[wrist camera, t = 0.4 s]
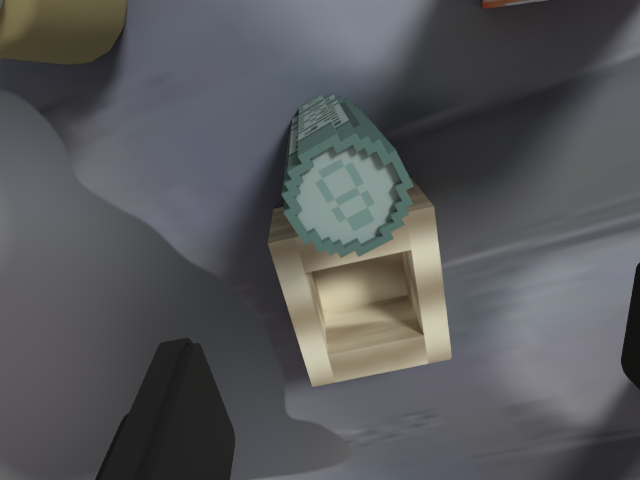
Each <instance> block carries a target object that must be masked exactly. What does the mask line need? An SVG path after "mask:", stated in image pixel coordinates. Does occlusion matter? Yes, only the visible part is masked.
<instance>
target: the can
mask: <svg viewBox="0 0 640 480" xmlns="http://www.w3.org/2000/svg"><path fill="white" fill-rule="evenodd" d="M412 187H414V185H413V183H412V181H411V179H410V177H409V175H408V173H407V171H406V169H405V167H404V165H403V163H402V161H401V159H400V157H399V155H398V153H397V151H396V149H395V148H394V147H393V146H392V145H391V144H390V142H389V141H388V140H387V139H386V138H385V137H384V135H383V134H382V133H381V132H380V131H379V130H378V129H377V127H376V126H375V125H374V124H373V123H372V122H371V120H370V119H369V118H368V117H367V116H366V115H365V113H364V112H363V111H362V110H361V109H360V108H359V106H358V105H355V106H354V105H353V104H352V103H351V102H350V100H349V99H348V98H346V99H345V100H343V99H342V97H341V96H339V97H337V98H335V96H334V94H332V95H330V96H329V97H327V98H325V99H324V98H323V96H322V95H320V96H318V97H316V98H315V99H313V100H311V101H310V102H308V103H306V104H305V105H303V106H301V107H300V108H299V115H297V116H295V117H294V118H292V125H291V128H290V132H289V137H288V146H287V154H286V162H285V171H284V179H283V187H282V196H283V198H284V199H285V200H284V211H283V213H284V214H285V216H286V217H287V219H288V220H289V222H290V223H291V225H292V227H293V228H294V230H295V231H296V233H297V234H298V236H299V237H300V239H301V240H302V242H303V243H304V245H305V244H307V243H309V242H311V241H312V243H313V244H314V246H315V247H316V249H317V250H318V252H319V253H321V252H323V251H325V250H327V252H328V253H329V255H330V256H331V255H333V254H335V253H338V254H339V256H340V258H342V257H344V256H346V255H348V254H350V253H352V252H354V251H355V252H356V254H357V255H358V257H360V256H362V255H363V254H365V253H367V252H369V251H371V250H373V249H375V248H377V247H379V246H381V245H383V244H385V243H387V242H389V241H391V240H393V239H394V238H393V236H392V234H391V232H392V231H394V230H396V229H398V228H400V227H402V226H404V225H405V224H404V222H403V220H402V218H404V217H405V216H407V215H409V214H408V212H407V210H406V208H407V207H408V206H410V205H412V204H413V203H412V201H411V199H410V197H409V195H408V193H407V191H406V190H408V189H410V188H412Z"/></svg>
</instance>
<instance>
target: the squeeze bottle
mask: <svg viewBox="0 0 640 480" xmlns="http://www.w3.org/2000/svg"><path fill="white" fill-rule="evenodd" d="M126 12H127V1H126V0H0V58H3V59H13V60H23V61H33V62H43V63H53V64H63V65H69V64H81V63H90V62H92V61H94V60H95V59H97V58H99V57H100V56H102V55H104V54H105V53H107V52H109V51H110V49H111V48H112V46H113V44H114V43H115V41H116V40H117V38H118V36H119V35H120V33H121V31H122V29H123V27H124V24H125V20H126Z"/></svg>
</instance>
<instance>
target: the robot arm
mask: <svg viewBox="0 0 640 480" xmlns="http://www.w3.org/2000/svg"><path fill="white" fill-rule="evenodd" d="M621 365H622V368H623V371H624V373H625V374H626V376H627V377H628V378H629V379H630V380H631V381H632V382H633V383H634V384H635V385H636V386H637V387H638V388H639V389H640V263H639V264H638V265H637V267H636V272H635V278H634V284H633V290H632V296H631V302H630V308H629V314H628V320H627V326H626V332H625V338H624V344H623V350H622V356H621ZM234 448H235V435H234V430H233V427H232V424H231V421H230V419H229V416H228V414H227V411H226V409H225V406H224V403H223V401H222V398H221V396H220V393H219V391H218V388H217V385H216V383H215V380H214V378H213V375H212V373H211V370H210V367H209V365H208V362H207V360H206V357H205V355H204V352H203V350H202V347H201V345H200V344H199V343H195V344H193V343H192V341H191V340H190V339H189V338H184V339H178V340H173V341H167V342H163V343H161V344H160V345H159V346H158V348H157V351H156V353H155V355H154V357H153V360H152V362H151V364H150V366H149V369H148V371H147V373H146V376H145V378H144V380H143V383H142V385H141V387H140V389H139V392H138V394H137V396H136V399H135V401H134V403H133V405H132V408H131V410H130V412H129V413H128V414H127V415H126V416H125V417H124V418H123V420H122V421H121V423H120V425H119V428H118V430H117V432H116V434H115V436H114V439H113V441H112V443H111V445H110V448H109V450H108V452H107V454H106V457H105V459H104V461H103V463H102V466H101V468H100V470H99V472H98V474H97V476H96V479H95V480H230V475H231V468H232V461H233V454H234Z"/></svg>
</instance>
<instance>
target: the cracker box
mask: <svg viewBox="0 0 640 480" xmlns="http://www.w3.org/2000/svg"><path fill="white" fill-rule="evenodd" d="M538 1H546V0H482V7H483V8H484V9H486V8H495V7H502V6H510V5H517V4H523V3H531V2H538Z"/></svg>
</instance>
